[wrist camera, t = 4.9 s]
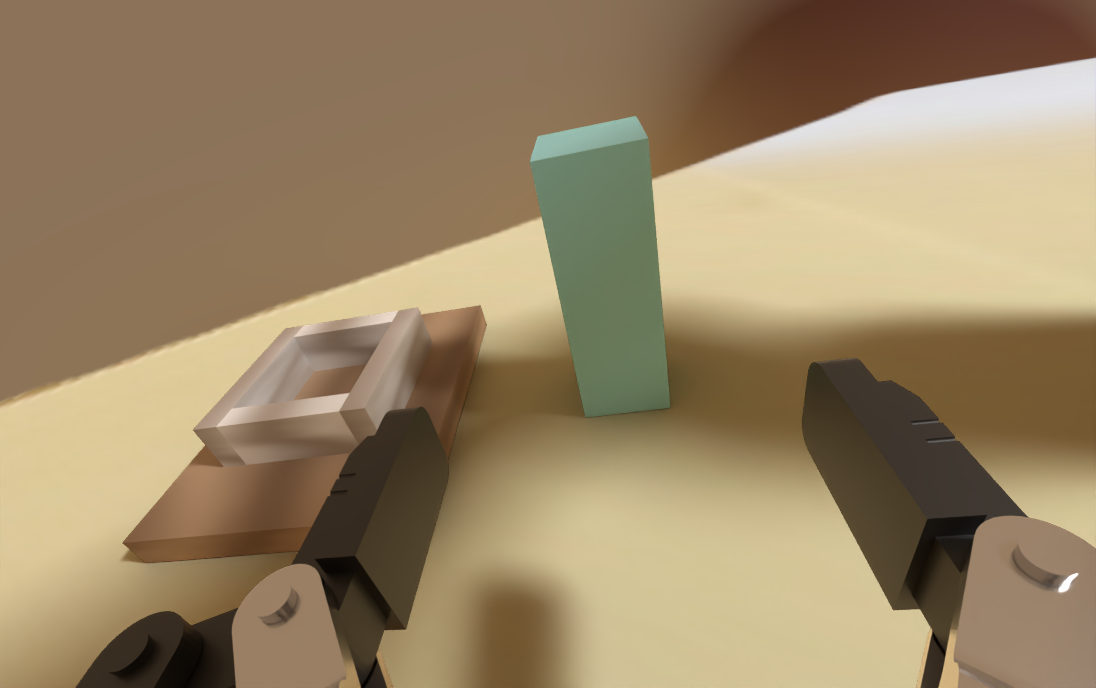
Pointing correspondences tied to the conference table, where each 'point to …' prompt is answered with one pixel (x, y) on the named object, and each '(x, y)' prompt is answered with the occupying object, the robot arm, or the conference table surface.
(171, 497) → the walnut socket plate
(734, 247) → the conference table surface
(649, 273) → the teal post
